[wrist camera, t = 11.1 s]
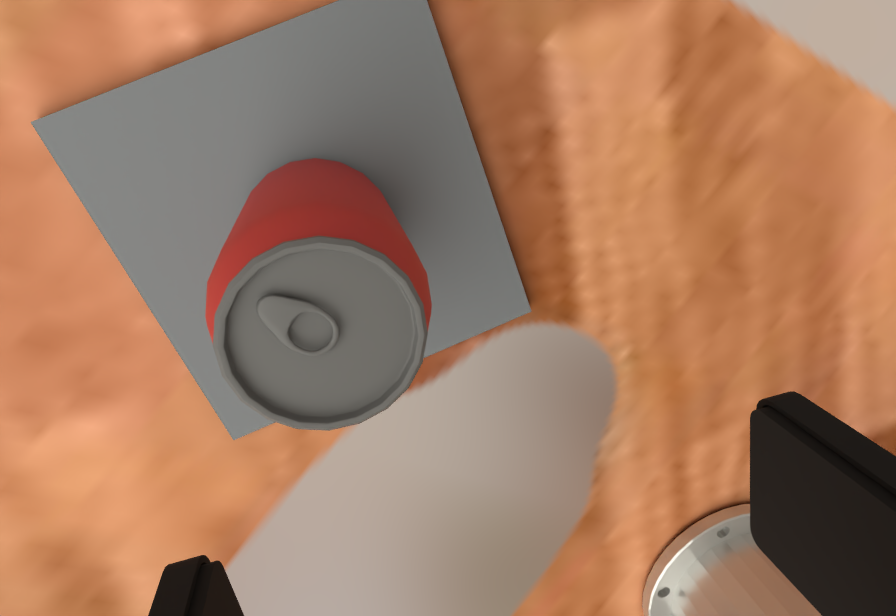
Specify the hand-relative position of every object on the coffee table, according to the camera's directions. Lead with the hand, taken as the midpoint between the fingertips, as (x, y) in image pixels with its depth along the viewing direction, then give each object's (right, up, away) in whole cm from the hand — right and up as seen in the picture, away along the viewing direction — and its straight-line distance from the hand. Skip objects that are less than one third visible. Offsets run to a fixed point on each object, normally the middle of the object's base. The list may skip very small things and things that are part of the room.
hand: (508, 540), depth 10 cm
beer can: (-7, +7, +17) cm, 20 cm away
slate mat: (-7, +8, +17) cm, 20 cm away
